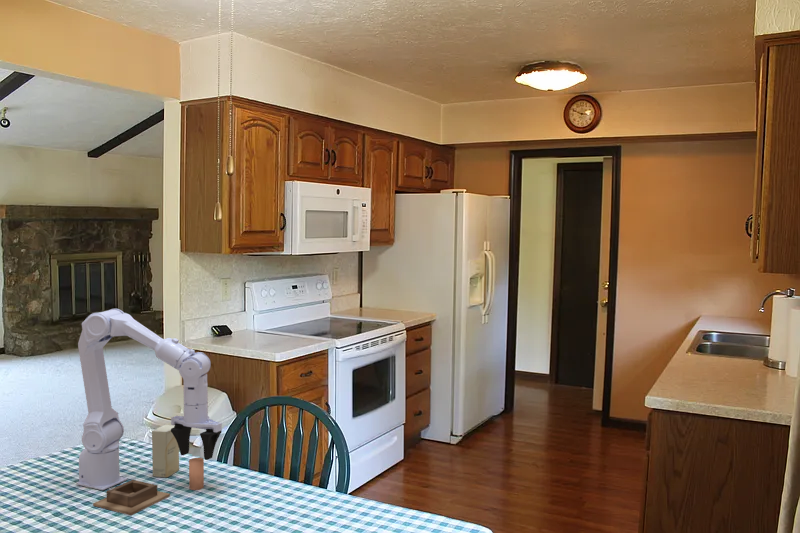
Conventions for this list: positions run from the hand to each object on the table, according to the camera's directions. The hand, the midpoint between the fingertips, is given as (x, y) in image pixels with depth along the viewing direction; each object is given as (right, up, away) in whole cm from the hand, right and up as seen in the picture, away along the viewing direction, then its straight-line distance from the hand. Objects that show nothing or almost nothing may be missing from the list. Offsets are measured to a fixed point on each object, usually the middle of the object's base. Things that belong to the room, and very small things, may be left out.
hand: (196, 456), depth 165 cm
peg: (0, -8, 0) cm, 8 cm away
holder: (-13, -8, -8) cm, 17 cm away
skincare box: (-11, -8, +10) cm, 17 cm away
